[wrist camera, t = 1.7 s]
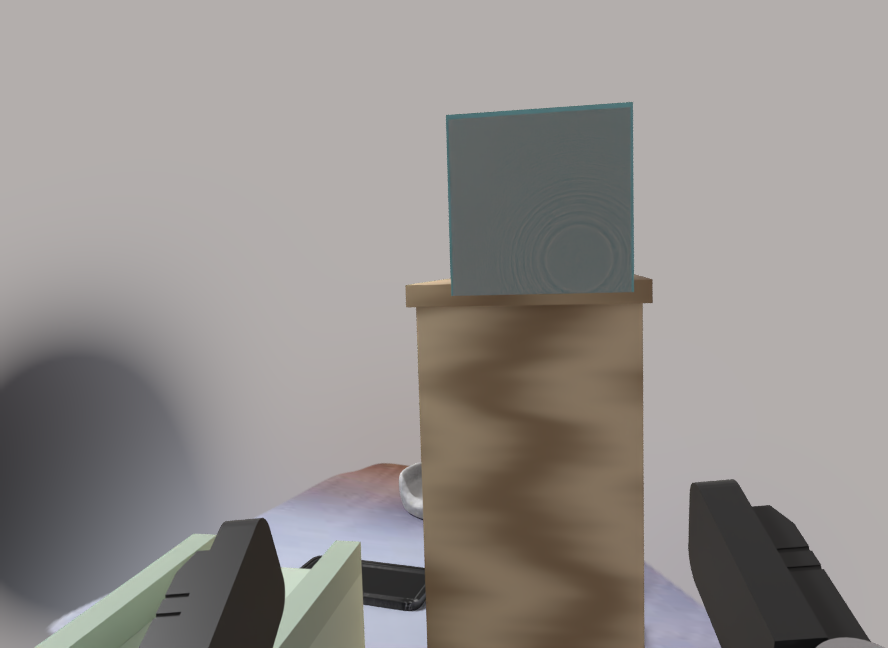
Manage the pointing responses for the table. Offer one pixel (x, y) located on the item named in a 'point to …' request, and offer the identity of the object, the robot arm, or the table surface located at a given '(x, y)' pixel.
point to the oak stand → (532, 467)
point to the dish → (412, 489)
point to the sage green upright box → (303, 621)
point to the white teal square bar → (541, 200)
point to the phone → (389, 584)
